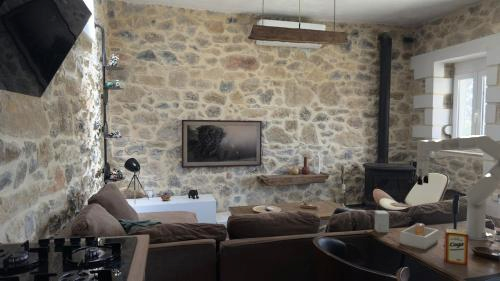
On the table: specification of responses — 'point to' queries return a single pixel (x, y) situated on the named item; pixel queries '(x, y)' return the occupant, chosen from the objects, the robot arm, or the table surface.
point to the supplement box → (381, 221)
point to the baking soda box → (456, 246)
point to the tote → (419, 237)
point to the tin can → (419, 229)
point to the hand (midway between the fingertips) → (422, 184)
